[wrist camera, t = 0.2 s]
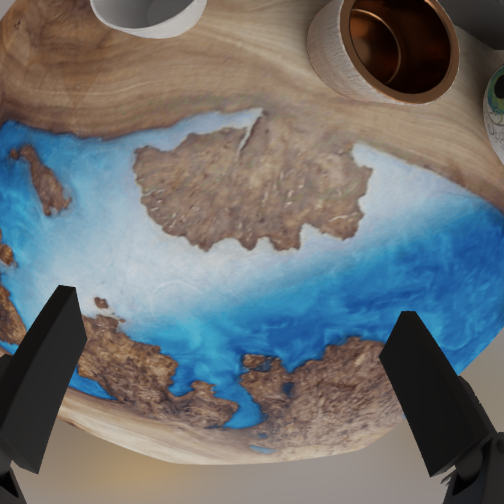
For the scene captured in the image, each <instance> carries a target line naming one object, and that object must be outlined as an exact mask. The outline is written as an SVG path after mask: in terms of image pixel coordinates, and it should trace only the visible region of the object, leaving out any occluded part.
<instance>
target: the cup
mask: <svg viewBox="0 0 504 504" xmlns="http://www.w3.org/2000/svg"><path fill="white" fill-rule="evenodd" d="M90 2H91V6H92V9H93V11H94V13H95V15H96V16H97V17H98V18H99V19H100V20H101V21H102V22H103V23H104V24H106V25H108V26H109V27H112V28H114V29H117V30H120V31H123V32H126V33H129V34H132V35H135V36H139V37H144V38H171V37H175V36H178V35H180V34H182V33H184V32H186V31H188V30H189V29H190V28H192V27H193V26H194V25H195V24H196V23H197V22H198V20H199V19H200V17H201V16H202V14H203V11H204V9H205V6H206V3H207V0H90Z"/></svg>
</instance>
